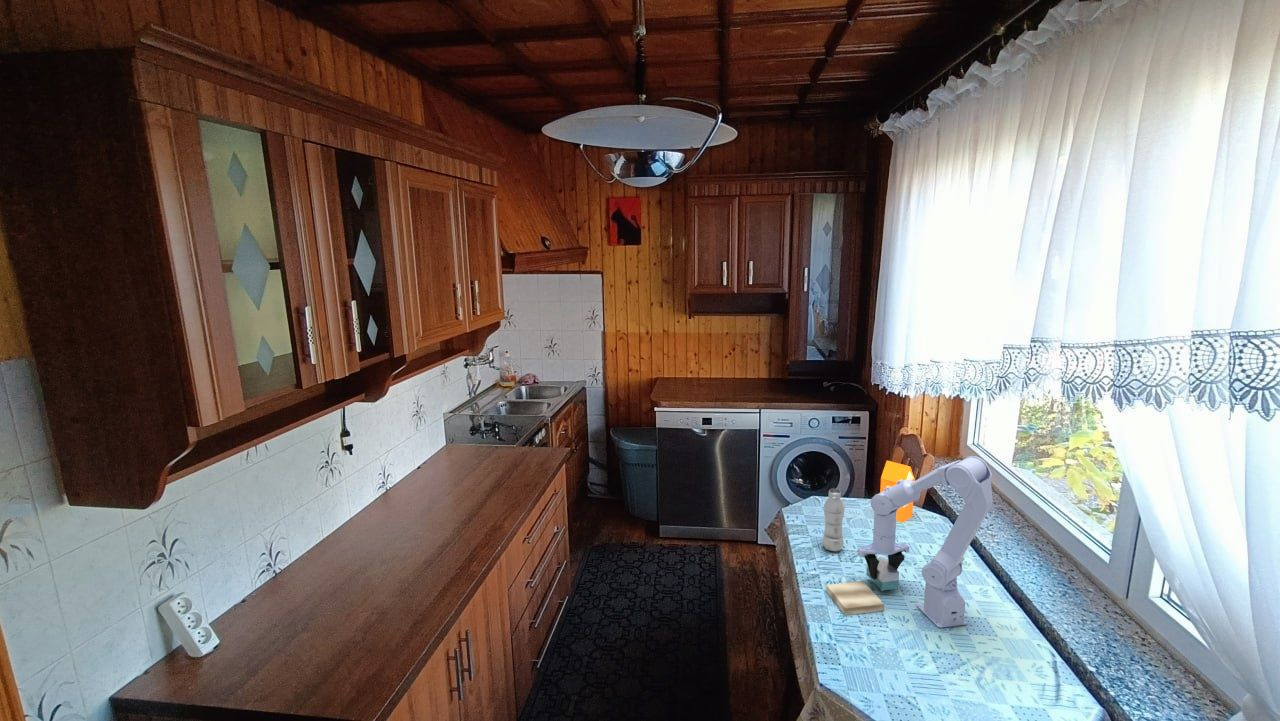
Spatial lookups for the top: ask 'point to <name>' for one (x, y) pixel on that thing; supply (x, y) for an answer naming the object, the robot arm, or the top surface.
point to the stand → (854, 598)
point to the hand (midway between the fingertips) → (882, 576)
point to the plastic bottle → (833, 521)
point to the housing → (885, 575)
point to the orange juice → (889, 479)
